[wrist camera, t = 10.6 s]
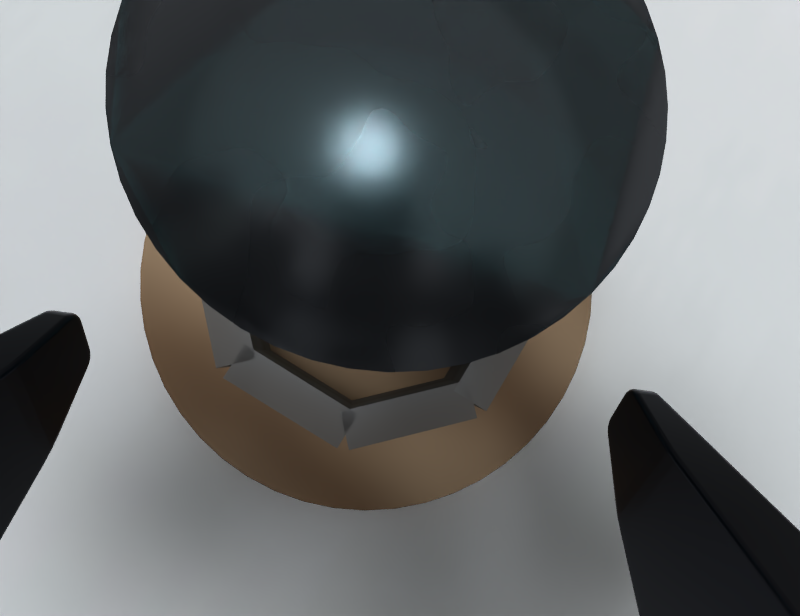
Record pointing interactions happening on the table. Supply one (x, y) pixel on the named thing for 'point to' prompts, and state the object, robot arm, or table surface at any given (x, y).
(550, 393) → the socket dock
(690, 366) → the table surface
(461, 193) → the ball
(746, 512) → the robot arm
